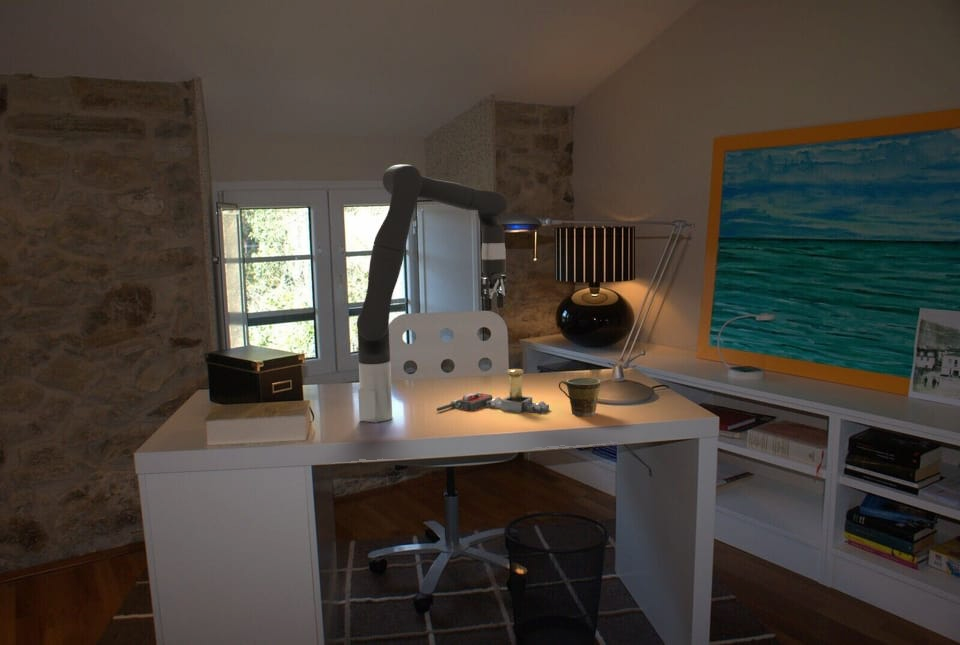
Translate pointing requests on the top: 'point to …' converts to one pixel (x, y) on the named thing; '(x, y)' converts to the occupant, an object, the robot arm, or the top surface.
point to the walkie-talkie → (469, 402)
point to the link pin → (515, 384)
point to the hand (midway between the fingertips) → (494, 309)
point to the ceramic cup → (582, 395)
